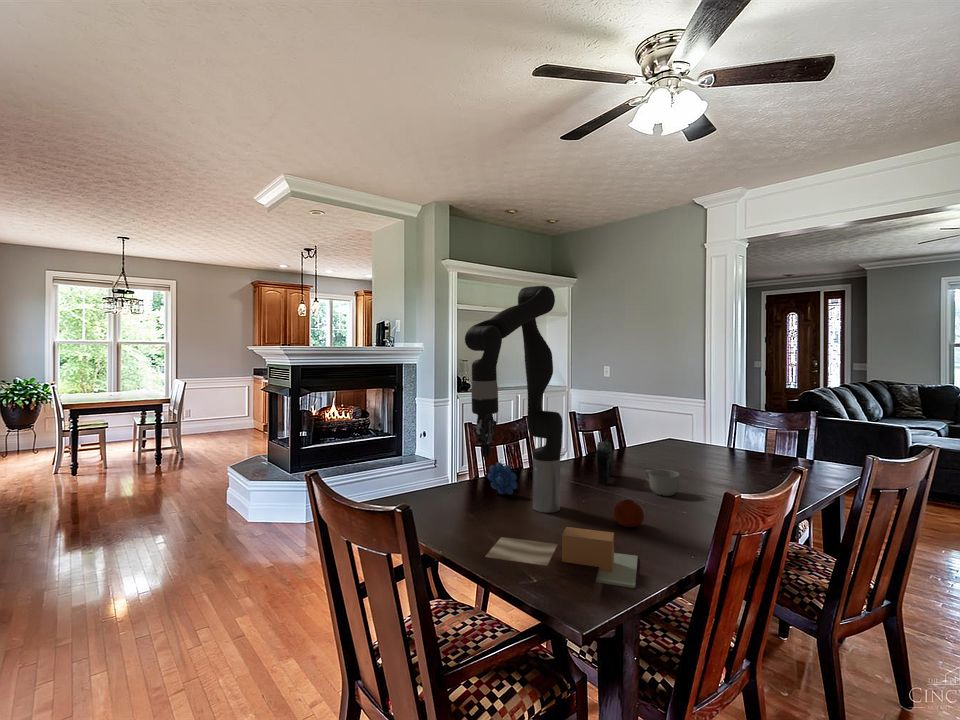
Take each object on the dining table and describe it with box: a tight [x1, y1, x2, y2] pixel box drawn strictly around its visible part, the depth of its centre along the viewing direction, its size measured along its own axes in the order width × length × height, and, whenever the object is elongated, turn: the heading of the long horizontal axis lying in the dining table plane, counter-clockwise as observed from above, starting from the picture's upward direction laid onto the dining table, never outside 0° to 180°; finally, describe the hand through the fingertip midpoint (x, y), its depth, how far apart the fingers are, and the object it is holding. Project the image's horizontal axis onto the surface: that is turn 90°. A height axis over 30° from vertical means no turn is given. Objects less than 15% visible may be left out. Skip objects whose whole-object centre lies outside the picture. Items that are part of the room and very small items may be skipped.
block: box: [561, 526, 615, 572], centre depth 123 cm, size 6×12×8 cm, turn 70°
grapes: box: [487, 461, 518, 495], centre depth 183 cm, size 12×7×12 cm, turn 70°
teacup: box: [643, 468, 681, 497], centre depth 186 cm, size 14×11×8 cm
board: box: [485, 536, 559, 567], centre depth 129 cm, size 14×16×2 cm
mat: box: [595, 552, 639, 589], centre depth 123 cm, size 17×20×1 cm
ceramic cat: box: [595, 432, 614, 486], centre depth 204 cm, size 20×6×20 cm, turn 158°
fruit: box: [612, 499, 645, 528], centre depth 151 cm, size 9×9×8 cm
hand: (486, 456), depth 140 cm, fingers closed
